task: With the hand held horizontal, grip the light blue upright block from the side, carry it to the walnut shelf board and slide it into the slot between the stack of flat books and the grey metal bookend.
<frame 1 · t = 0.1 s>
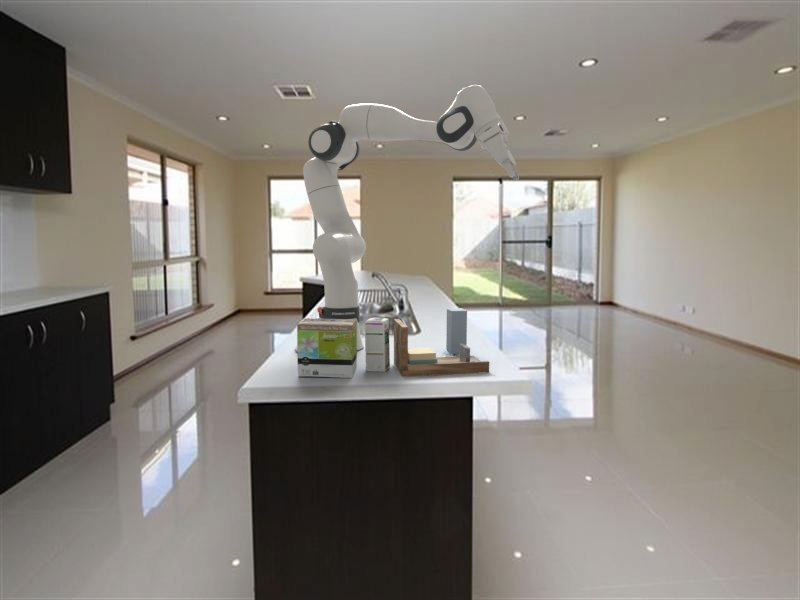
hand: (515, 178, 156), 54 cm above the counter, tool tilted 30°, fingers open, 8 cm apart
book stack: (420, 357, 152), point 4 cm above the counter
light blue upright block: (456, 352, 174), on the counter
syrup box: (377, 369, 152), on the counter
tea box: (328, 374, 148), on the counter
bookend: (471, 354, 153), point 4 cm above the counter
shelf: (447, 367, 154), on the counter
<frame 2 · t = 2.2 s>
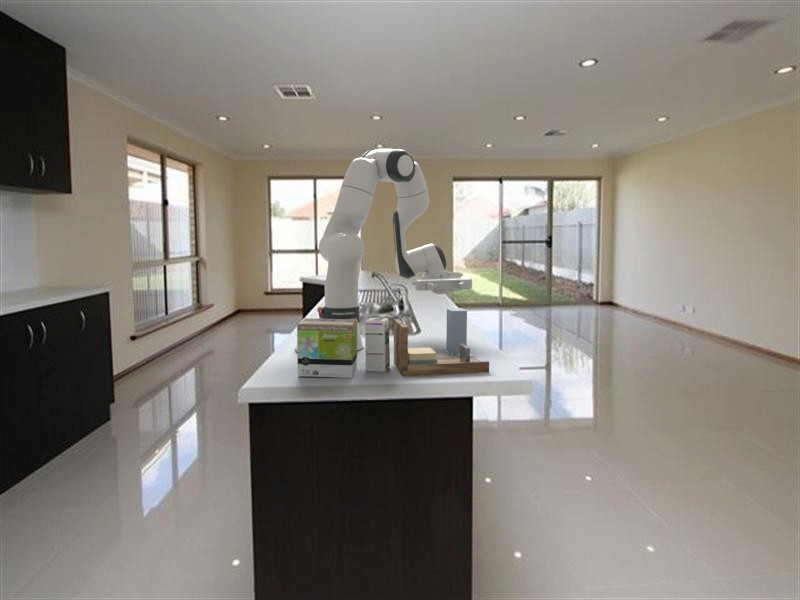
hand: (447, 286, 182), 20 cm above the counter, tool horizontal, fingers open, 8 cm apart
nothing on the counter moved.
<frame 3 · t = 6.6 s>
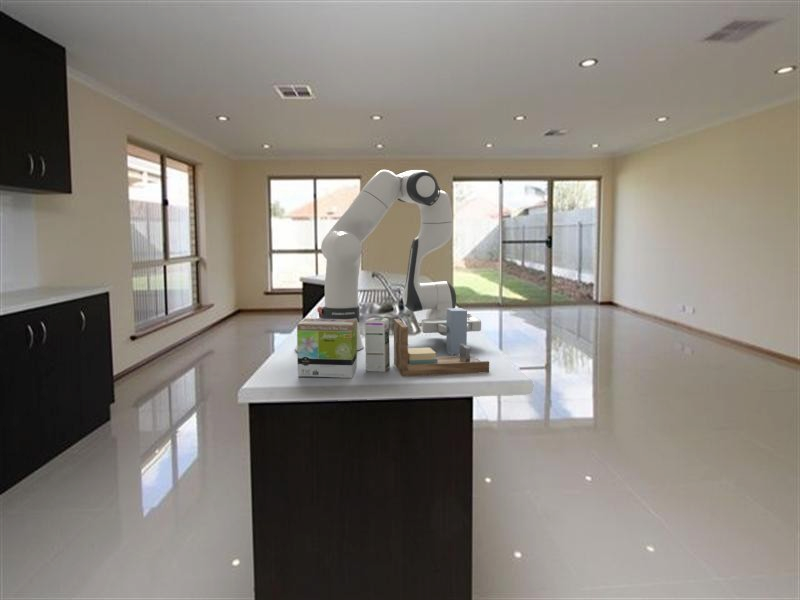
hand: (456, 329, 172), 8 cm above the counter, tool horizontal, fingers closed on light blue upright block, 5 cm apart
light blue upright block: (456, 352, 174), on the counter, touching gripper
everything else where it was.
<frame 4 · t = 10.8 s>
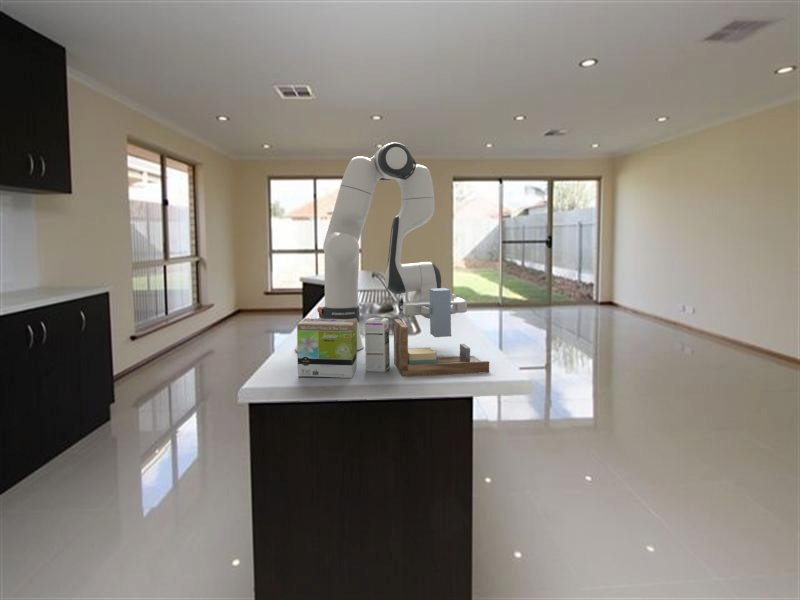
hand: (440, 310, 162), 15 cm above the counter, tool horizontal, fingers closed on light blue upright block, 5 cm apart
light blue upright block: (440, 334, 164), point 7 cm above the counter, touching gripper
everything else where it was.
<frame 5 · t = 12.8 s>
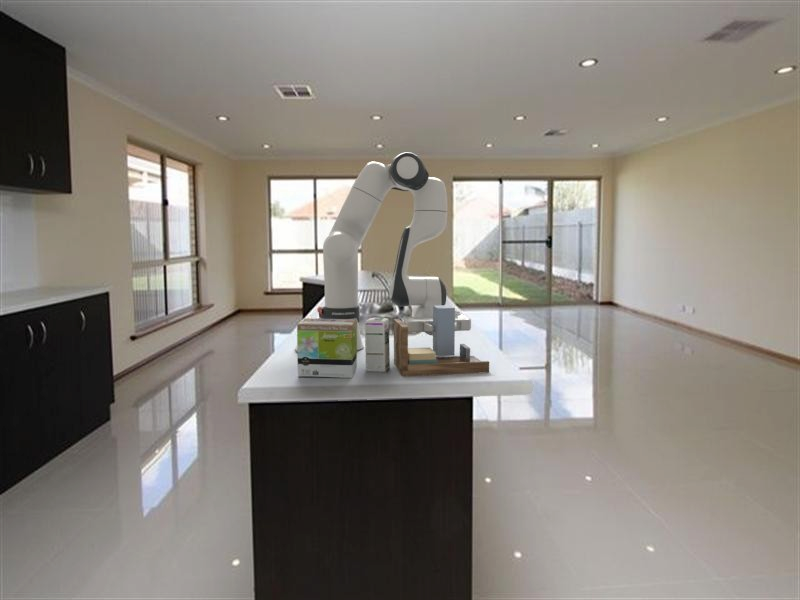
hand: (443, 328, 157), 10 cm above the counter, tool horizontal, fingers closed on light blue upright block, 5 cm apart
light blue upright block: (443, 353, 159), point 3 cm above the counter, touching gripper
everything else where it was.
when the fingers open (10 cm above the counter, at t = 14.8 s): light blue upright block drops 1 cm, resting on shelf.
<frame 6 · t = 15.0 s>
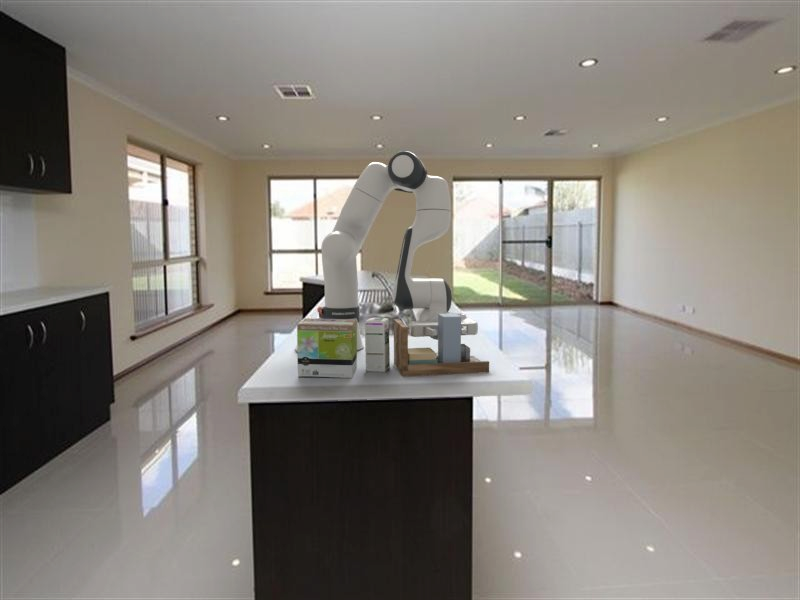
hand: (449, 333, 151), 10 cm above the counter, tool horizontal, fingers open, 7 cm apart
light blue upright block: (449, 363, 152), point 1 cm above the counter, touching shelf
everything else where it was.
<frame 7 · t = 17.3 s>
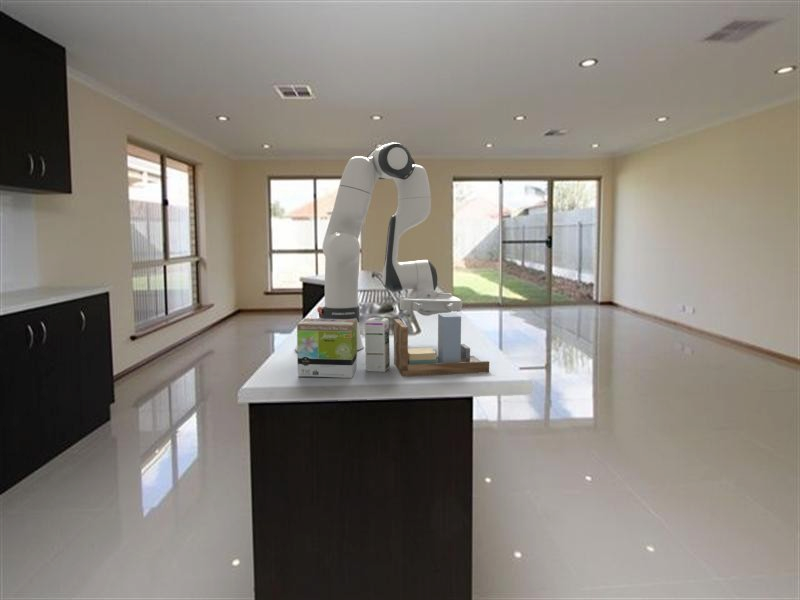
hand: (435, 307, 165), 16 cm above the counter, tool horizontal, fingers open, 8 cm apart
nothing on the counter moved.
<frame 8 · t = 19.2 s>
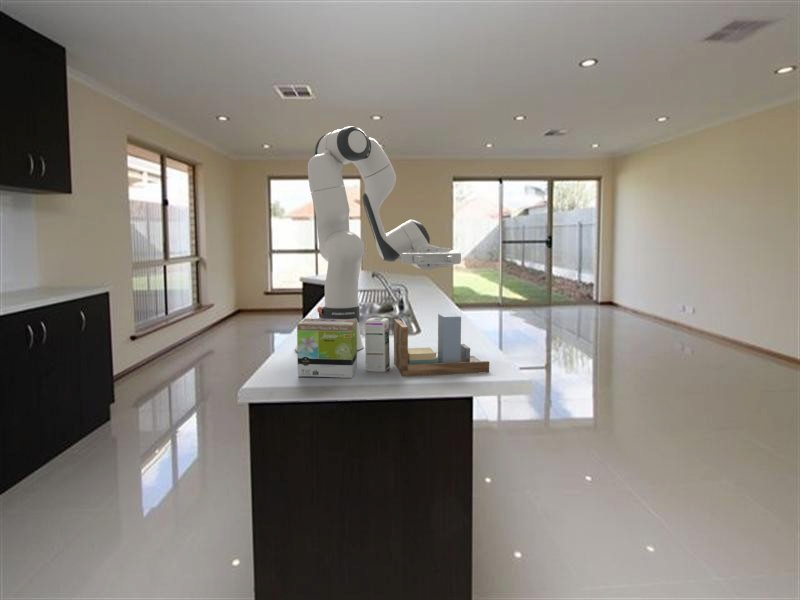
hand: (436, 259, 173), 30 cm above the counter, tool horizontal, fingers open, 8 cm apart
nothing on the counter moved.
at the end: light blue upright block 0.2 cm from the target spot on the shelf, point 1.5 cm above the shelf's base; light blue upright block tilted 0°; the gripper is holding nothing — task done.
